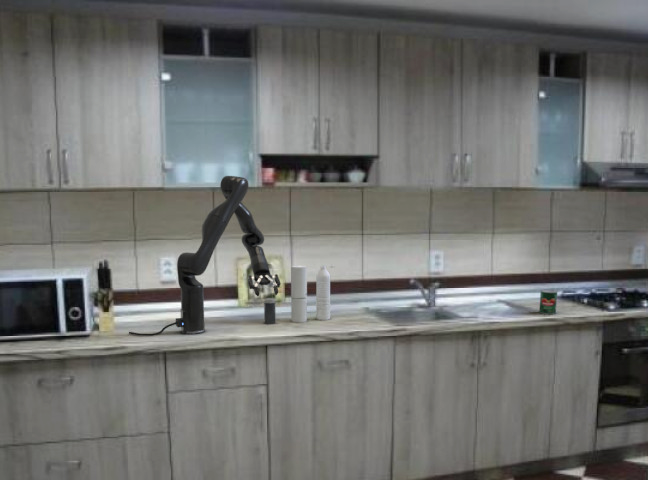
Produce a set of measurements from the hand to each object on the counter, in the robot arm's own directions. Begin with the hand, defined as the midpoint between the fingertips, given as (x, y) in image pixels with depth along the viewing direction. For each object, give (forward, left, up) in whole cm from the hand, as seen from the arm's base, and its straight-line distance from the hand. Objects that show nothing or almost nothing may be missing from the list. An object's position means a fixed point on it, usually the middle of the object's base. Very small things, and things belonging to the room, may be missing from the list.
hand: (267, 294), depth 279 cm
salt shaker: (0, -3, -12) cm, 13 cm away
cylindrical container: (+14, -3, -13) cm, 19 cm away
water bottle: (+27, -3, -13) cm, 30 cm away
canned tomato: (+135, -30, -13) cm, 139 cm away
